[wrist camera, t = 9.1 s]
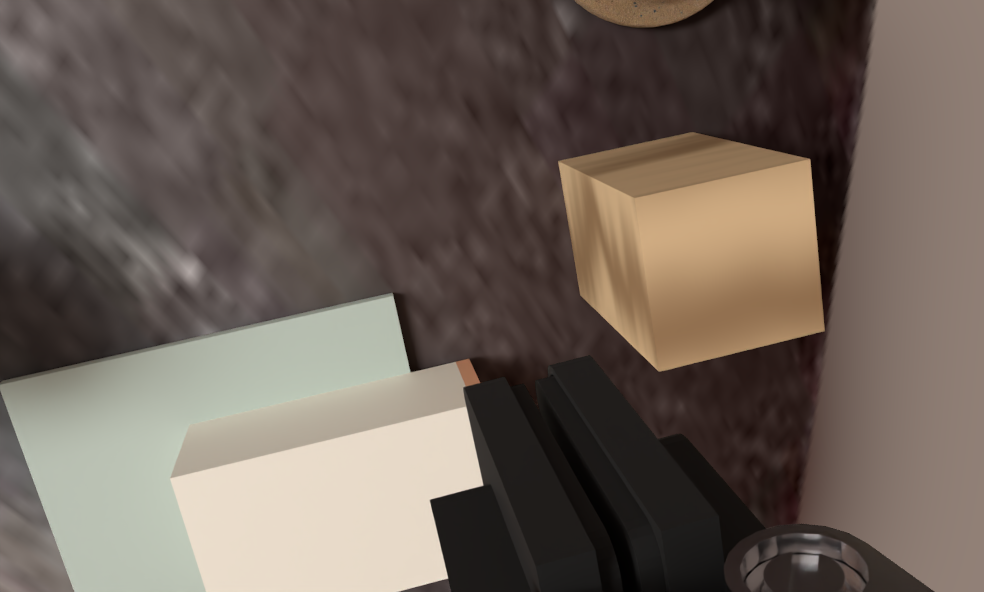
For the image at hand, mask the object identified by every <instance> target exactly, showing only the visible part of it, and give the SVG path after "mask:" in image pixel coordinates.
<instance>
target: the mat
mask: <svg viewBox="0 0 984 592" xmlns="http://www.w3.org/2000/svg"><path fill="white" fill-rule="evenodd" d="M406 373H410V368H409V364H408V359H407V355H406V350H405V346H404V341H403V337H402V333H401V328H400V324H399V319H398V315H397V310H396V306H395V302H394V297H393V293H389V294H385V295H380V296H376V297H371V298H367V299H362V300H358V301H354V302H349V303H345V304H340V305H336V306H331V307H327V308H323V309H318V310H314V311H309V312H305V313H300V314H296V315H292V316H287V317H283V318H278V319H274V320H269V321H265V322H261V323H256V324H252V325H247V326H243V327H238V328H234V329H230V330H225V331H221V332H216V333H212V334H207V335H203V336H199V337H194V338H190V339H185V340H181V341H176V342H172V343H168V344H163V345H159V346H154V347H150V348H145V349H141V350H137V351H132V352H128V353H123V354H119V355H114V356H110V357H106V358H101V359H97V360H92V361H88V362H83V363H79V364H75V365H70V366H66V367H61V368H57V369H52V370H48V371H43V372H39V373H35V374H30V375H26V376H21V377H17V378H12V379H8V380H4V381H2V382H1V383H0V391H1V394H2V397H3V399H4V402H5V405H6V407H7V410H8V413H9V416H10V418H11V421H12V424H13V426H14V429H15V432H16V435H17V437H18V440H19V443H20V445H21V448H22V451H23V454H24V456H25V459H26V462H27V464H28V467H29V470H30V472H31V475H32V478H33V481H34V483H35V486H36V489H37V491H38V494H39V497H40V500H41V502H42V505H43V508H44V510H45V513H46V516H47V519H48V521H49V524H50V527H51V529H52V532H53V535H54V538H55V540H56V543H57V546H58V548H59V551H60V554H61V557H62V559H63V562H64V565H65V567H66V570H67V573H68V576H69V578H70V581H71V584H72V586H73V589H74V592H206V590H205V587H204V584H203V581H202V577H201V574H200V571H199V568H198V565H197V562H196V559H195V555H194V552H193V549H192V546H191V543H190V540H189V537H188V534H187V530H186V527H185V524H184V521H183V518H182V515H181V512H180V509H179V505H178V502H177V499H176V496H175V493H174V490H173V487H172V484H171V480H170V477H171V474H172V471H173V469H174V466H175V463H176V460H177V458H178V455H179V452H180V449H181V447H182V444H183V441H184V438H185V436H186V433H187V430H188V427H189V425H191V424H195V423H199V422H203V421H208V420H212V419H216V418H220V417H225V416H229V415H233V414H237V413H242V412H246V411H250V410H254V409H258V408H263V407H267V406H271V405H275V404H280V403H284V402H288V401H292V400H296V399H301V398H305V397H309V396H313V395H318V394H322V393H326V392H330V391H335V390H339V389H343V388H347V387H351V386H356V385H360V384H364V383H368V382H373V381H377V380H381V379H385V378H390V377H394V376H398V375H402V374H406Z"/></svg>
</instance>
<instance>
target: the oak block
mask: <svg viewBox="0 0 984 592" xmlns="http://www.w3.org/2000/svg"><path fill="white" fill-rule="evenodd" d="M558 163H559V169H560V175H561V181H562V187H563V193H564V199H565V205H566V211H567V217H568V223H569V229H570V235H571V241H572V247H573V253H574V259H575V265H576V271H577V277H578V283H579V289H580V295H581V296H582V297H583V298H584V299H585V300H586V301H587V302H588V303H589V304H590V305H591V306H592V307H593V308H594V309H595V310H596V311H597V312H598V313H599V314H600V315H601V316H602V317H603V318H604V319H605V320H607V321H608V322H609V323H610V324H611V325H612V326H613V327H614V328H615V329H616V330H617V331H618V332H619V333H620V334H621V335H622V336H623V337H624V338H625V339H626V340H627V341H628V342H629V343H630V344H631V345H632V346H633V347H634V348H635V349H636V350H637V351H638V352H639V353H640V354H641V355H643V356H644V357H645V358H646V359H647V360H648V361H649V362H650V363H651V364H652V365H653V366H654V367H655V368H656V369H657V370H658V371H659V372H660V371H664V370H668V369H672V368H676V367H680V366H684V365H688V364H692V363H696V362H700V361H704V360H709V359H713V358H717V357H721V356H725V355H729V354H733V353H737V352H741V351H745V350H749V349H753V348H757V347H761V346H765V345H769V344H773V343H778V342H782V341H786V340H790V339H794V338H798V337H802V336H806V335H810V334H814V333H818V332H822V331H825V330H824V318H823V306H822V294H821V282H820V270H819V258H818V246H817V234H816V222H815V210H814V198H813V186H812V174H811V162H810V159H808V158H803V157H799V156H795V155H790V154H786V153H781V152H777V151H773V150H768V149H764V148H760V147H755V146H751V145H746V144H742V143H738V142H733V141H729V140H724V139H720V138H716V137H711V136H707V135H703V134H698V133H694V132H691V133H686V134H682V135H677V136H673V137H668V138H663V139H659V140H654V141H649V142H645V143H640V144H635V145H631V146H626V147H622V148H617V149H612V150H608V151H603V152H598V153H594V154H589V155H584V156H580V157H575V158H571V159H566V160H561V161H558Z"/></svg>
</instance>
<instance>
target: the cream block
mask: <svg viewBox="0 0 984 592" xmlns="http://www.w3.org/2000/svg"><path fill="white" fill-rule="evenodd" d="M478 383H480V381H479V379H478V377H477V375H476V373H475V370H474V368H473V366H472V364H471V362H470V360H469V359H466V360H461V361H457V362H453V363H449V364H445V365H440V366H436V367H432V368H428V369H423V370H419V371H415V372H411V373H406V374H402V375H398V376H394V377H390V378H385V379H381V380H377V381H373V382H368V383H364V384H360V385H356V386H351V387H347V388H343V389H339V390H335V391H330V392H326V393H322V394H318V395H313V396H309V397H305V398H301V399H296V400H292V401H288V402H284V403H280V404H275V405H271V406H267V407H263V408H258V409H254V410H250V411H246V412H242V413H237V414H233V415H229V416H225V417H220V418H216V419H212V420H208V421H203V422H199V423H195V424H191V425H189V427H188V430H187V433H186V436H185V438H184V441H183V444H182V447H181V449H180V452H179V455H178V458H177V460H176V463H175V466H174V469H173V471H172V474H171V477H170V480H171V484H172V487H173V490H174V493H175V496H176V499H177V502H178V505H179V509H180V512H181V515H182V518H183V521H184V524H185V527H186V530H187V534H188V537H189V540H190V543H191V546H192V549H193V552H194V555H195V559H196V562H197V565H198V568H199V571H200V574H201V577H202V581H203V584H204V587H205V590H206V592H398V591H402V590H406V589H409V588H413V587H417V586H421V585H425V584H428V583H432V582H436V581H440V580H444V579H447V578H448V575H447V571H446V567H445V563H444V559H443V554H442V550H441V546H440V542H439V538H438V533H437V529H436V525H435V521H434V517H433V512H432V508H431V504H430V499H434V498H438V497H442V496H446V495H449V494H453V493H457V492H461V491H464V490H468V489H472V488H476V487H479V486H483V481H482V477H481V472H480V467H479V463H478V458H477V454H476V449H475V444H474V440H473V435H472V431H471V426H470V421H469V417H468V412H467V408H466V403H465V398H464V392H463V387H466V386H470V385H474V384H478Z"/></svg>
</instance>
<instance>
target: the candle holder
mask: <svg viewBox="0 0 984 592" xmlns="http://www.w3.org/2000/svg"><path fill="white" fill-rule="evenodd" d="M574 1H575V2H577V3H578V4H579V5H580V6H582V7H583V8H584V9H586V10H587V11H588V12H590V13H592V14H594V15H596V16H597V17H599V18H601V19H603V20H606V21H609V22H612V23H615V24H618V25H622V26H629V27H635V28H648V27H658V26H663V25H669V24H672V23H675V22H678V21H681V20H683V19H686V18H688V17H690V16H692V15H693V14H695V13H697V12H699V11H701V10H702V9H703V8H705V7H706V6H707V5H708V4H710V3H711V2H712V1H714V0H574Z"/></svg>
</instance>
